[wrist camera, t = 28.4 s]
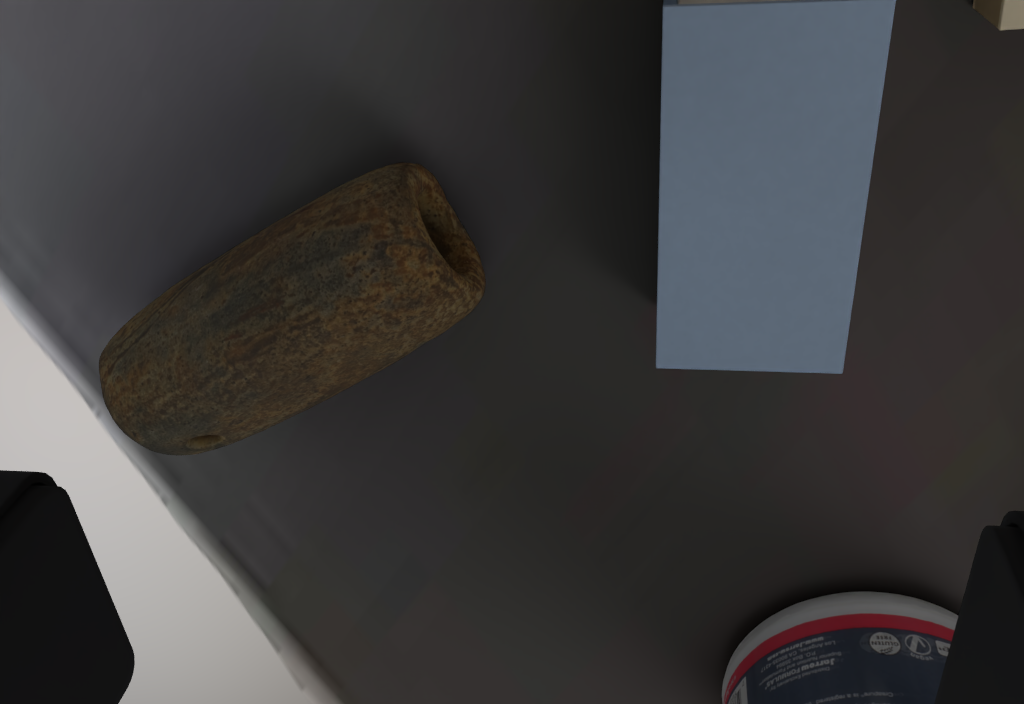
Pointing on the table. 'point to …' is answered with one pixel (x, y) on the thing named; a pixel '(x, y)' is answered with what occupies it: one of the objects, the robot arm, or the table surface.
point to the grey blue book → (765, 178)
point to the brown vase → (294, 314)
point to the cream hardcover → (1002, 13)
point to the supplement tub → (843, 652)
